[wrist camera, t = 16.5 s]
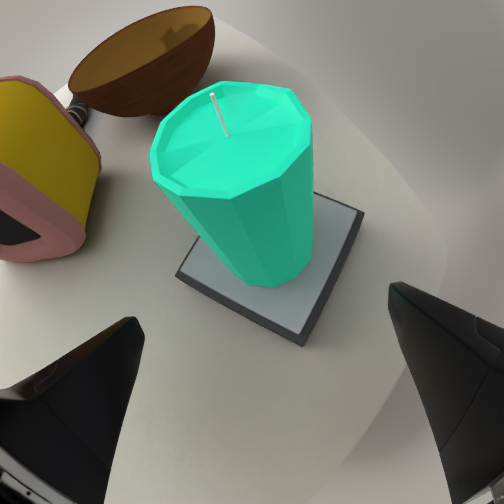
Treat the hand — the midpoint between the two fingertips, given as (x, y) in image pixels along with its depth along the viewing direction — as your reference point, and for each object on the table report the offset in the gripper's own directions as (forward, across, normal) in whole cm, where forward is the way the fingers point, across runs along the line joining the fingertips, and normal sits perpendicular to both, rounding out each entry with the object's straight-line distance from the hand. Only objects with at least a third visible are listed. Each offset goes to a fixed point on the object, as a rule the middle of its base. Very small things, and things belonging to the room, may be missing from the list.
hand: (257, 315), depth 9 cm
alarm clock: (+18, +25, -2) cm, 31 cm away
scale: (+12, 0, +3) cm, 13 cm away
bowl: (+28, +11, -13) cm, 33 cm away
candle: (+10, 0, +2) cm, 10 cm away
